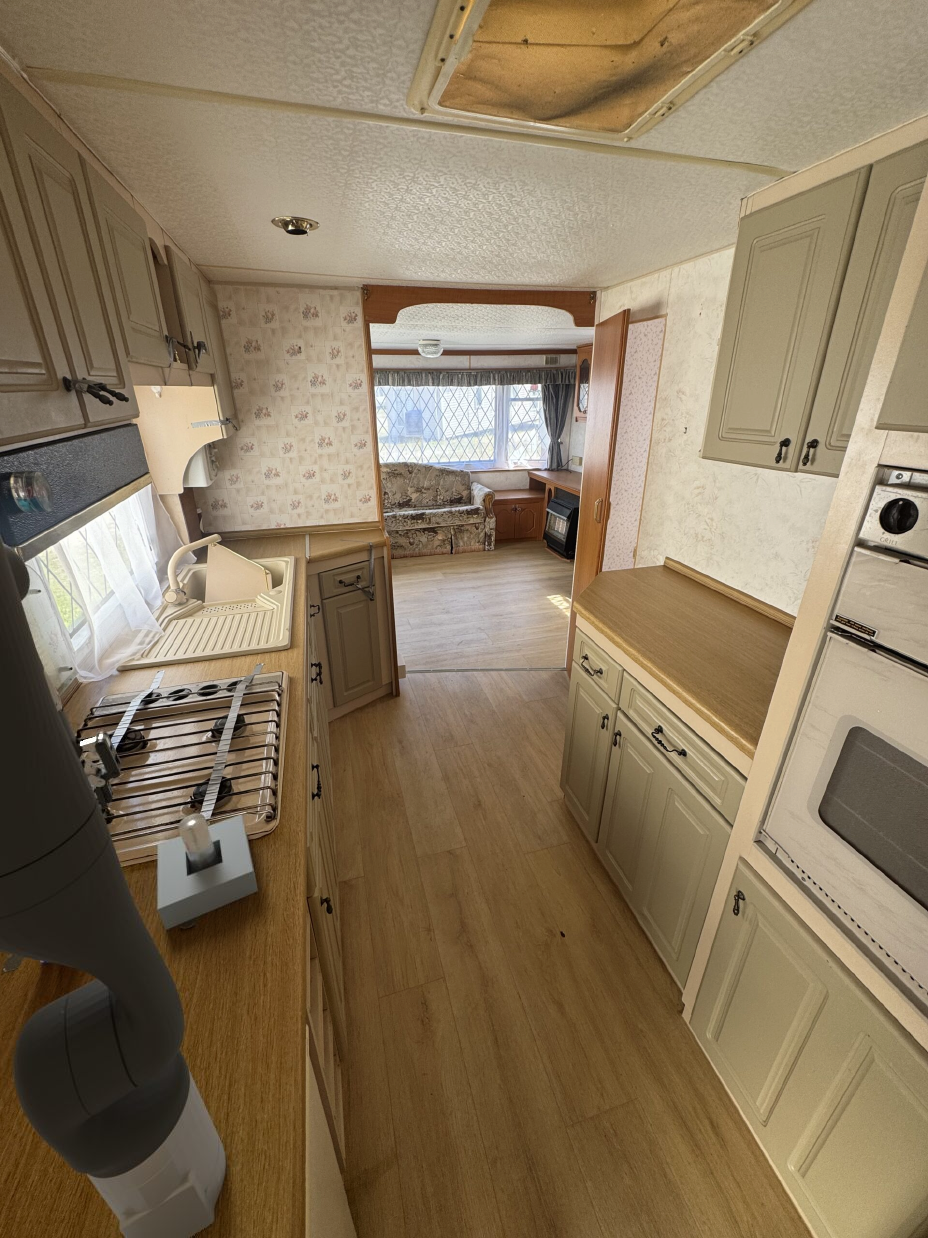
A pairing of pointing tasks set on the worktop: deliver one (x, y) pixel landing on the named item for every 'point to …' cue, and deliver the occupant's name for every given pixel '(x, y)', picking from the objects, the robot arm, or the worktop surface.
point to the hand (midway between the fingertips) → (67, 816)
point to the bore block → (204, 874)
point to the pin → (198, 842)
